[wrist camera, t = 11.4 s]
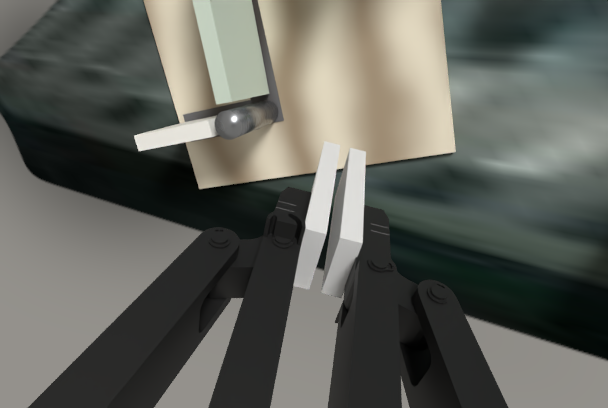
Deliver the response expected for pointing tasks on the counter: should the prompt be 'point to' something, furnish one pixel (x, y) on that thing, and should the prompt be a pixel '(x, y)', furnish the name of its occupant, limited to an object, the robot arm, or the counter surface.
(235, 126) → the post
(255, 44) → the hinged panel
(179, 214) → the counter surface
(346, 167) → the robot arm
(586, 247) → the counter surface
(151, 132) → the fixed panel
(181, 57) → the board
